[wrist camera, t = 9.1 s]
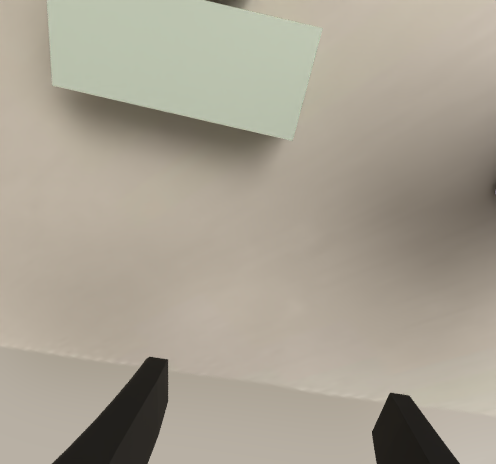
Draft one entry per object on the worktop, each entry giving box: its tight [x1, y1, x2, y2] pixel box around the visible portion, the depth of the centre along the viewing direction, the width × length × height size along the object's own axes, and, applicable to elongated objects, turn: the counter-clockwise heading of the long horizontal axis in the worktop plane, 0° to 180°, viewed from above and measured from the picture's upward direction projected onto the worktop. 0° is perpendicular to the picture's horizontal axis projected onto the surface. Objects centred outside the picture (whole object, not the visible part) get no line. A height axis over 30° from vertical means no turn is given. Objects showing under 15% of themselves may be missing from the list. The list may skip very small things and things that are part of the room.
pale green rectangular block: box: [47, 0, 323, 141], centre depth 14 cm, size 10×4×4 cm, turn 78°
